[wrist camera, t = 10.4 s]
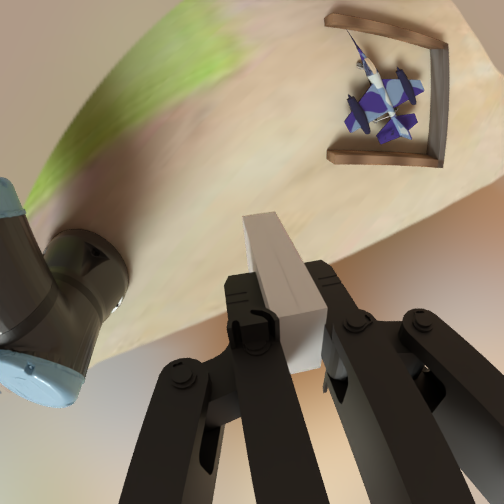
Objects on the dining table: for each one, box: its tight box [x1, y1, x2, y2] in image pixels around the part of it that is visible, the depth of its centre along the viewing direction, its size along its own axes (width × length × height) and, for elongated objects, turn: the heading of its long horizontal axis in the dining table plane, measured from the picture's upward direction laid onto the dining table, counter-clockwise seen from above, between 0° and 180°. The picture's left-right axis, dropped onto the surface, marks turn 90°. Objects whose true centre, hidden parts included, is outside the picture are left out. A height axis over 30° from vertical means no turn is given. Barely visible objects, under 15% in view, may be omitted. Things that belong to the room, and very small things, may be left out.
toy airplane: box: [344, 29, 424, 144], centre depth 30 cm, size 13×14×4 cm
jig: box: [324, 13, 449, 168], centre depth 31 cm, size 18×19×3 cm
